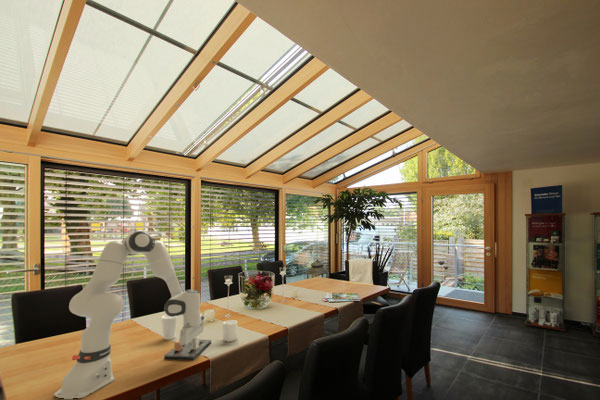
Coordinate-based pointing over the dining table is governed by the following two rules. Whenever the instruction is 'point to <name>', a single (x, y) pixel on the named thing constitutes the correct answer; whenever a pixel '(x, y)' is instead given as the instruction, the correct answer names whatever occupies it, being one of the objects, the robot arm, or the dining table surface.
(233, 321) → the cup
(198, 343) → the block
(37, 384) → the dining table surface
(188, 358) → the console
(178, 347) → the block
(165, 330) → the foam cup
